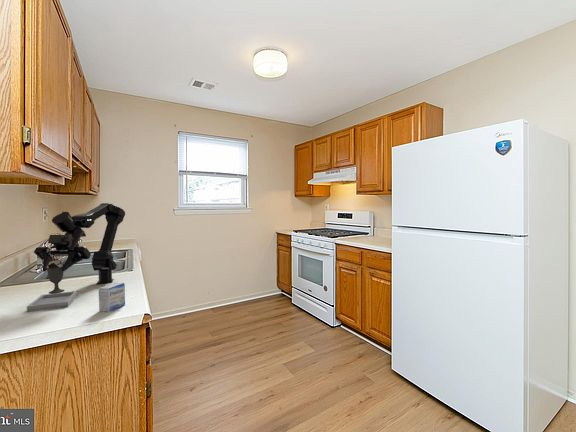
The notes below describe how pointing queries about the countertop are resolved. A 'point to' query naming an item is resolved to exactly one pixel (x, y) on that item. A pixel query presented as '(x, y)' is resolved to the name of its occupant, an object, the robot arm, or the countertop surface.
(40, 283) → the countertop surface
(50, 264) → the sundae
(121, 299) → the medicine box
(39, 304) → the tray
